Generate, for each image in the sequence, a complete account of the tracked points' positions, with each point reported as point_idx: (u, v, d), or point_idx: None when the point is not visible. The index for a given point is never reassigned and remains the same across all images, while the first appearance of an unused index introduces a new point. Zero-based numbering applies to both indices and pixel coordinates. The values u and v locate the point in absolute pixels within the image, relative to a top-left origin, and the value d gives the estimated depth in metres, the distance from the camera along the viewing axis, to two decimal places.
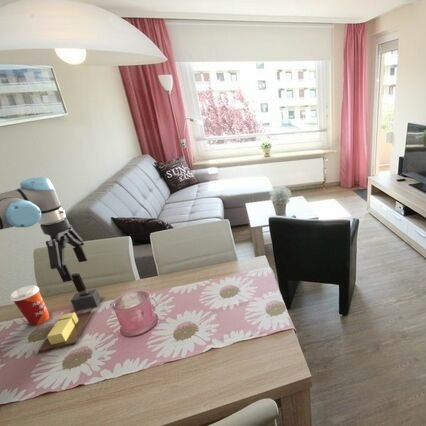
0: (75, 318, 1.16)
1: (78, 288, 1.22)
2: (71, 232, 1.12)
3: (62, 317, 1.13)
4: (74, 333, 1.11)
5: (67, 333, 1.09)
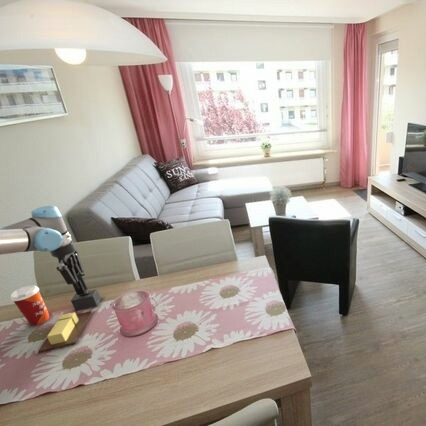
0: (75, 318, 1.16)
1: None
2: (75, 258, 1.22)
3: (62, 317, 1.13)
4: (74, 333, 1.11)
5: (67, 333, 1.09)
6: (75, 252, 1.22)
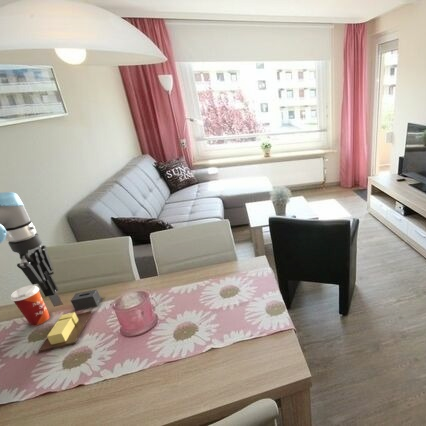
0: (75, 318, 1.16)
1: None
2: (43, 253, 1.06)
3: (62, 317, 1.13)
4: (74, 333, 1.11)
5: (67, 333, 1.09)
6: (42, 247, 1.06)
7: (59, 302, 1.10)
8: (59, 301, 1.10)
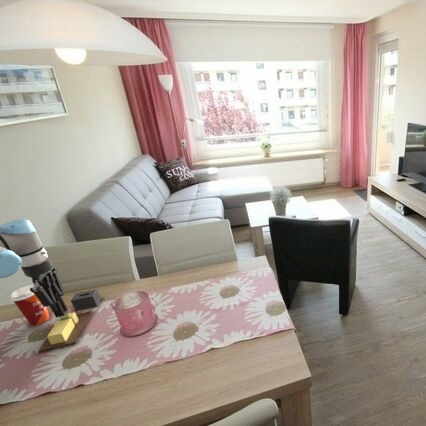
0: (75, 318, 1.16)
1: None
2: (54, 276, 1.10)
3: None
4: (74, 333, 1.11)
5: (67, 333, 1.09)
6: (53, 269, 1.10)
7: None
8: None
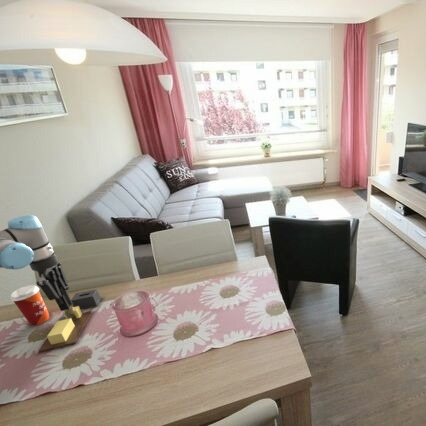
0: (79, 312, 1.19)
1: None
2: (59, 270, 1.13)
3: None
4: (74, 333, 1.11)
5: (67, 333, 1.09)
6: (58, 264, 1.13)
7: (73, 316, 1.17)
8: (73, 315, 1.17)
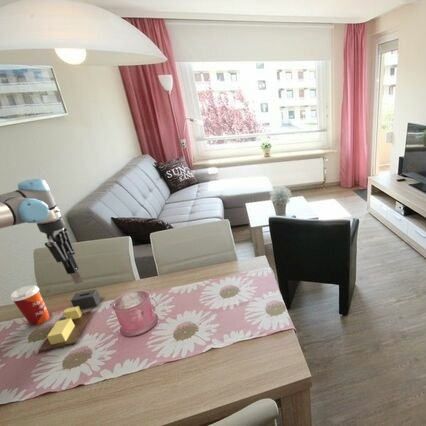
0: (79, 312, 1.19)
1: None
2: (65, 235, 1.18)
3: (66, 311, 1.17)
4: (74, 333, 1.11)
5: (67, 333, 1.09)
6: (65, 229, 1.18)
7: (79, 280, 1.22)
8: (79, 279, 1.22)
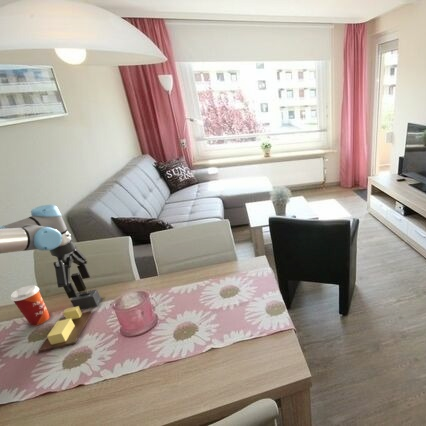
0: (79, 312, 1.19)
1: (78, 288, 1.22)
2: (76, 252, 1.23)
3: (66, 311, 1.17)
4: (74, 333, 1.11)
5: (67, 333, 1.09)
6: None
7: None
8: None
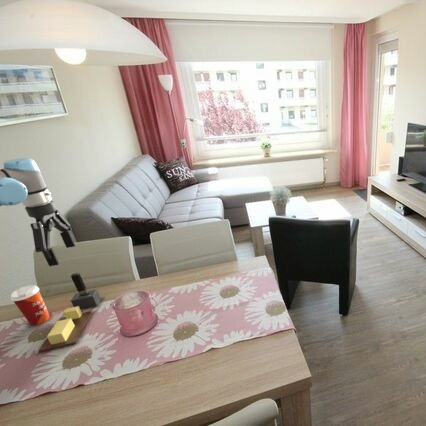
0: (79, 312, 1.19)
1: (78, 288, 1.22)
2: (58, 216, 1.10)
3: (66, 311, 1.17)
4: (74, 333, 1.11)
5: (67, 333, 1.09)
6: (55, 211, 1.09)
7: None
8: None
